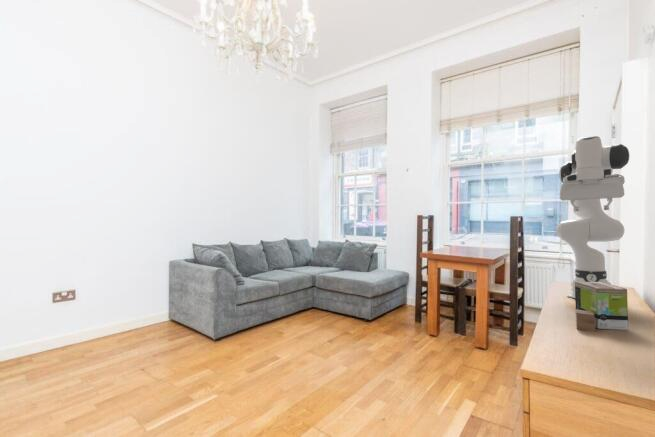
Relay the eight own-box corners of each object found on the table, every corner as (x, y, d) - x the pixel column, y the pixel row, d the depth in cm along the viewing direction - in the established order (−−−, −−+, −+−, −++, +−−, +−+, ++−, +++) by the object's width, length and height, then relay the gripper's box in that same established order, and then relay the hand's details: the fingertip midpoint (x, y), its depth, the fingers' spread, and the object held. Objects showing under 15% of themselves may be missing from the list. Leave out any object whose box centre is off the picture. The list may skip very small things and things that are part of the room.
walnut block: (576, 325, 122) (575, 309, 122) (593, 327, 119) (593, 311, 119) (577, 329, 118) (576, 312, 118) (594, 331, 115) (594, 314, 115)
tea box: (630, 330, 115) (628, 288, 115) (597, 329, 117) (595, 288, 117) (603, 318, 130) (601, 280, 130) (574, 317, 132) (573, 280, 132)
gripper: (622, 174, 128) (624, 209, 128) (559, 179, 140) (560, 211, 140) (625, 172, 123) (627, 208, 123) (559, 177, 135) (560, 211, 135)
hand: (591, 210), depth 131 cm, fingers open, 8 cm apart
